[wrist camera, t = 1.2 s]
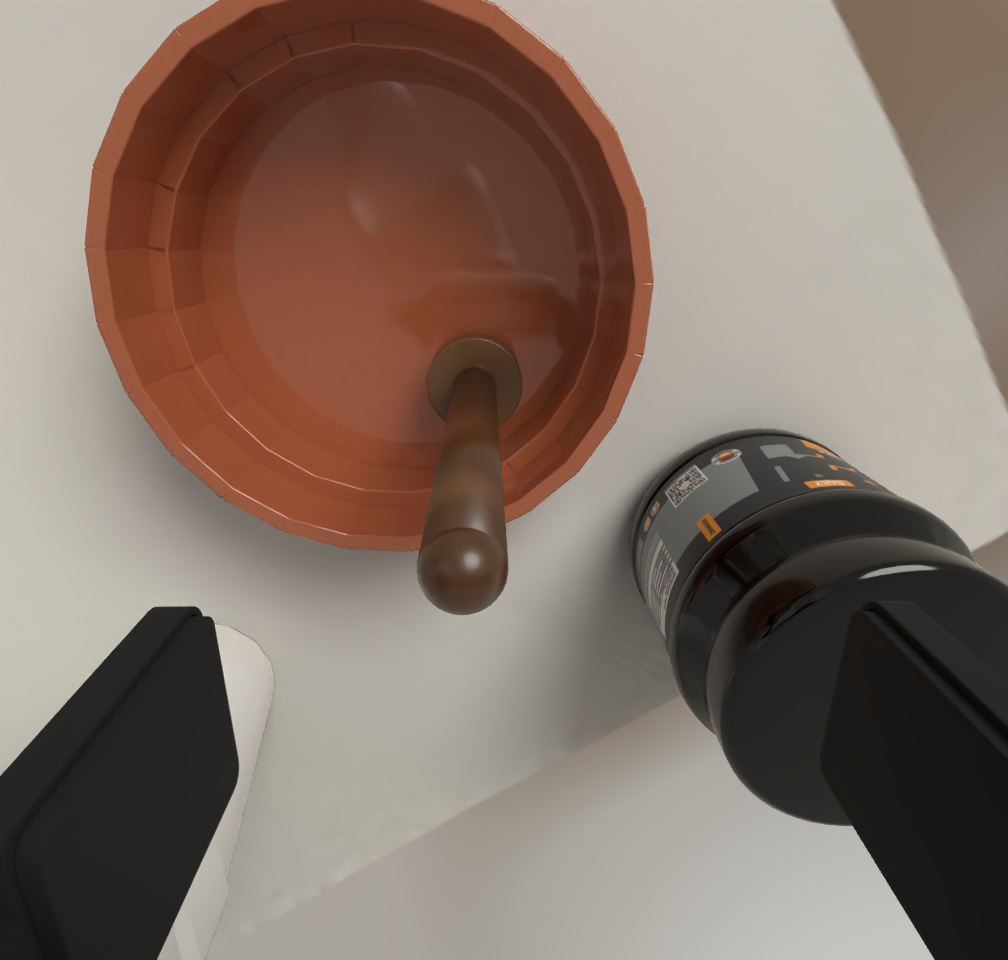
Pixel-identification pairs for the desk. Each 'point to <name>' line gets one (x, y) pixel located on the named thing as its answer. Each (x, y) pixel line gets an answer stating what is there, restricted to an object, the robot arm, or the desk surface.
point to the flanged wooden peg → (468, 474)
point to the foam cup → (249, 715)
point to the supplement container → (790, 594)
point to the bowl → (363, 253)
